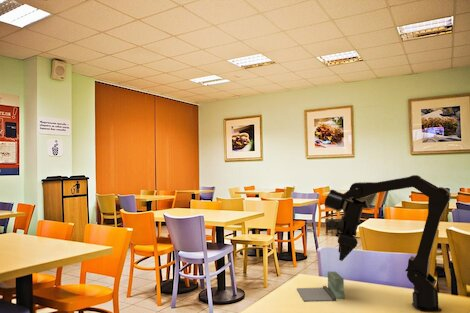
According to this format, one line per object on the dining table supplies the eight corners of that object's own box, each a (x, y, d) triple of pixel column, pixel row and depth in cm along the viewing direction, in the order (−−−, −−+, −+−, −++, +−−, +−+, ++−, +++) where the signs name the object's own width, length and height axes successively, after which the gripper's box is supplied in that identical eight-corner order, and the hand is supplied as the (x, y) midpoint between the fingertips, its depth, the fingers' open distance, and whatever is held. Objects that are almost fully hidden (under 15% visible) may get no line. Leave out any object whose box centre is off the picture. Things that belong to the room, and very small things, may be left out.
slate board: (326, 288, 140) (325, 285, 140) (336, 300, 126) (336, 297, 126) (296, 289, 140) (296, 286, 140) (303, 301, 126) (303, 298, 126)
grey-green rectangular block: (336, 290, 138) (335, 271, 139) (344, 299, 128) (343, 278, 129) (328, 290, 138) (327, 271, 139) (335, 299, 128) (334, 278, 129)
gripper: (329, 204, 144) (318, 242, 145) (329, 214, 126) (317, 257, 127) (358, 213, 141) (347, 251, 143) (363, 224, 123) (350, 268, 125)
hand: (340, 256), depth 135 cm, fingers open, 9 cm apart
